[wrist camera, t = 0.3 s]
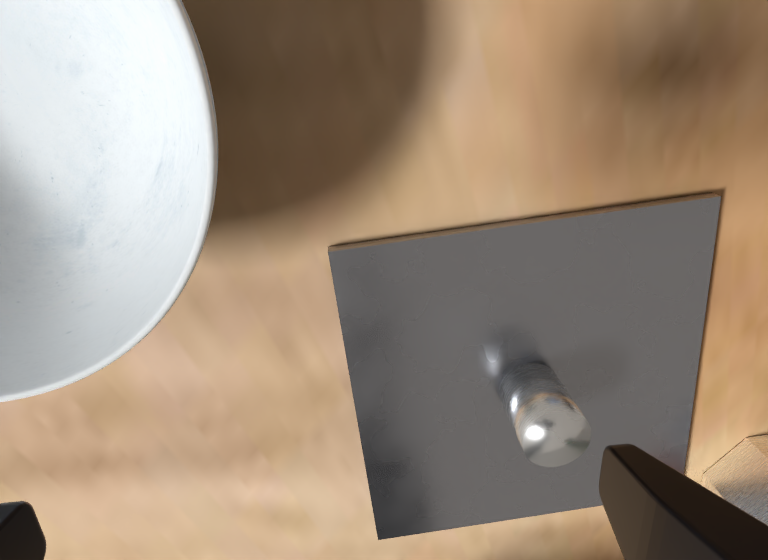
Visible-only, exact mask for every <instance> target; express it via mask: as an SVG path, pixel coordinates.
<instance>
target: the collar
mask: <svg viewBox="0 0 768 560" xmlns="http://www.w3.org/2000/svg"><path fill="white" fill-rule="evenodd" d="M701 485H702V486H703V487H705V488H707V489H708V490H710V491H712V492H713V493H715V494H717V495H718V496H720V497H722V498H723V499H725V500H727V501H728V502H730V503H732V504H733V505H735V506H737V507H738V508H740V509H741V510H743V511H745V512H746V513H748V514H750V515H751V516H753V517H755V518H756V519H758V520H760V521H761V522H763V523H765V524H766V525H768V435H761V436H755V437H748V438H745V439H744V440H743V441H742V442H741V443H740V444H738V445H737V446H736V447H735V448H734V449H732V450H731V451H730V452H729V453H728V454H726V455H725V456H724V457H723V458H722V459H720V460H719V461H718V462H717V463H716V464H714V465H713V466H712V467H711V468H710V469H708V470H707V471H706V472H705V473H704V474H703V477H702V484H701Z"/></svg>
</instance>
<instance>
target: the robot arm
mask: <svg viewBox="0 0 768 560" xmlns="http://www.w3.org/2000/svg"><path fill="white" fill-rule="evenodd" d="M599 493H600V498H601V501H602V503H603V506H604V508H605V511H606V514H607V516H608V519H609V521H610V524H611V526H612V529H613V531H614V534H615V536H616V539H617V541H618V544H619V546H620V549H621V551H622V554H623V556H624V559H625V560H768V525H766V524H765V523H763V522H761V521H760V520H758V519H756V518H755V517H753V516H751V515H750V514H748V513H746V512H745V511H743V510H741V509H740V508H738V507H737V506H735V505H733V504H732V503H730V502H728V501H727V500H725V499H723V498H722V497H720V496H718V495H717V494H715V493H713V492H712V491H710V490H708V489H707V488H705V487H703V486H702V485H700V484H698V483H697V482H695V481H693V480H692V479H690V478H688V477H687V476H685V475H683V474H682V473H680V472H678V471H677V470H675V469H673V468H672V467H670V466H668V465H667V464H665V463H663V462H662V461H660V460H658V459H657V458H655V457H653V456H652V455H650V454H648V453H647V452H645V451H643V450H642V449H640V448H638V447H637V446H635V445H633V444H617V445H609V446H607V447H606V448H605V449H604V451H603V456H602V464H601V471H600V478H599ZM45 552H46V540H45V537H44V534H43V532H42V529H41V527H40V524H39V522H38V519H37V517H36V514H35V512H34V509H33V507H32V505H31V504H29V503H28V502H25V501H18V502H8V503H1V504H0V560H44V557H45Z"/></svg>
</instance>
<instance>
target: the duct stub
mask: <svg viewBox="0 0 768 560" xmlns="http://www.w3.org/2000/svg"><path fill="white" fill-rule="evenodd" d="M720 201H721V196H719V195H716V194H714V193H706V194H699V195H692V196H685V197H677V198H670V199H663V200H656V201H649V202H642V203H635V204H628V205H621V206H614V207H607V208H599V209H592V210H585V211H578V212H571V213H564V214H557V215H550V216H543V217H536V218H529V219H521V220H514V221H507V222H500V223H493V224H486V225H479V226H472V227H465V228H458V229H451V230H443V231H436V232H429V233H422V234H415V235H408V236H401V237H394V238H387V239H380V240H373V241H366V242H358V243H351V244H344V245H337V246H330V247H328V255H329V260H330V266H331V272H332V277H333V283H334V289H335V295H336V300H337V306H338V312H339V318H340V323H341V329H342V335H343V341H344V346H345V352H346V358H347V363H348V369H349V375H350V381H351V386H352V392H353V398H354V404H355V409H356V415H357V421H358V427H359V432H360V438H361V444H362V449H363V455H364V461H365V467H366V472H367V478H368V484H369V490H370V495H371V501H372V507H373V513H374V518H375V524H376V530H377V535H378V540H381V539H387V538H394V537H400V536H407V535H413V534H420V533H426V532H433V531H439V530H446V529H452V528H459V527H465V526H472V525H478V524H485V523H491V522H498V521H504V520H511V519H517V518H524V517H530V516H537V515H543V514H550V513H556V512H563V511H569V510H576V509H582V508H588V507H595V506H601V505H603V503H602V501H601V498H600V493H599V478H600V471H601V464H602V456H603V451H604V449H605V448H606V447H607V446H609V445H617V444H633V445H635V446H637V447H638V448H640V449H642V450H643V451H645V452H647V453H648V454H650V455H652V456H653V457H655V458H657V459H658V460H660V461H662V462H663V463H665V464H667V465H668V466H670V467H672V468H673V469H675V470H677V471H678V472H680V473H682V474H683V475H684V468H685V461H686V453H687V446H688V438H689V431H690V424H691V416H692V409H693V401H694V394H695V387H696V379H697V372H698V364H699V357H700V349H701V342H702V335H703V327H704V320H705V312H706V305H707V298H708V290H709V283H710V275H711V268H712V261H713V253H714V246H715V238H716V231H717V223H718V216H719V209H720Z"/></svg>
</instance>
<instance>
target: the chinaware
mask: <svg viewBox="0 0 768 560" xmlns="http://www.w3.org/2000/svg"><path fill="white" fill-rule="evenodd" d="M217 175H218V132H217V121H216V112H215V105H214V99H213V94H212V89H211V84H210V79H209V75H208V71H207V67H206V64H205V61H204V57H203V54H202V50H201V48H200V45H199V42H198V39H197V36H196V33H195V31H194V28H193V26H192V23H191V20H190V18H189V16H188V14H187V11H186V9H185V7H184V4H183V2H182V0H0V402H5V401H11V400H17V399H22V398H27V397H31V396H35V395H39V394H42V393H46V392H49V391H52V390H55V389H58V388H61V387H64V386H67V385H69V384H72V383H74V382H76V381H79V380H81V379H83V378H85V377H87V376H89V375H91V374H93V373H95V372H97V371H99V370H101V369H102V368H104V367H106V366H107V365H109V364H111V363H112V362H114V361H115V360H117V359H118V358H120V357H121V356H122V355H124V354H125V353H126V352H128V351H129V350H130V349H132V348H133V347H134V346H135V345H136V344H138V343H139V342H140V341H141V340H142V339H143V338H144V337H145V336H146V335H147V334H148V333H149V332H150V331H151V330H152V329H153V328H154V327H155V326H156V325H157V324H158V323H159V322H160V321H161V319H162V318H163V317H164V316H165V315H166V313H167V312H168V311H169V309H170V308H171V307H172V306H173V304H174V303H175V301H176V300H177V298H178V297H179V295H180V294H181V292H182V290H183V289H184V287H185V285H186V283H187V282H188V280H189V278H190V276H191V274H192V272H193V270H194V268H195V265H196V263H197V261H198V259H199V256H200V253H201V251H202V248H203V245H204V242H205V239H206V236H207V233H208V229H209V225H210V221H211V217H212V212H213V207H214V201H215V194H216V186H217Z"/></svg>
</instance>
